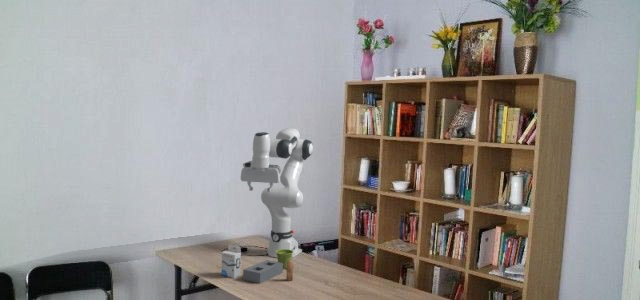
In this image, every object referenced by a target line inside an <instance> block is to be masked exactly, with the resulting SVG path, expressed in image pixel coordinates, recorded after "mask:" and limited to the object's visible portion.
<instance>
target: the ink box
mask: <svg viewBox="0 0 640 300" xmlns="http://www.w3.org/2000/svg"><path fill="white" fill-rule="evenodd" d="M227 249H228V250H224V251H221V271H220V272H221V276H224V277H228V278H230V279H231V278H233V279H236V278H239V277H240V276H241V258H242V257H241V256H242V253H241V251H242V250H241V249H242V247H241V246H240V245H239V246H238V245H235V244H229V243H228V248H227Z"/></svg>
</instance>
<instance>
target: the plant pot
mask: <svg viewBox="0 0 640 300" xmlns="http://www.w3.org/2000/svg"><path fill="white" fill-rule="evenodd" d="M276 253H277V257H276V259H277V262H280V263H283V270H287V261H292V258H293V257H292V255H293V251H292V250H288V249H280V250H277V251H276Z"/></svg>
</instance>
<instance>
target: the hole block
mask: <svg viewBox="0 0 640 300" xmlns="http://www.w3.org/2000/svg"><path fill="white" fill-rule="evenodd" d="M283 270H284V269H283V263H280V262H278V261H275V260H268V259H265V260H263V261H261V262H259V263H256V264H253V265H251V266H249V267H246V268H244V269H243V271H242V280H243V281H246V282H251V283H256V284H262V283H265V282H266V281H268V280H270V279H272V278H274V277H276V276H279V275H280V274H283Z"/></svg>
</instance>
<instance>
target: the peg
mask: <svg viewBox="0 0 640 300" xmlns="http://www.w3.org/2000/svg"><path fill="white" fill-rule="evenodd" d="M293 272H294V261H292V260H291V261H287V268H286V282H292V281H293V276H294V273H293Z"/></svg>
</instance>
